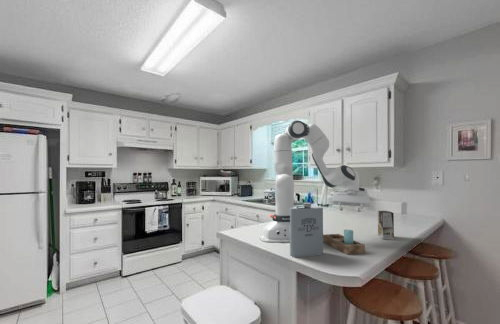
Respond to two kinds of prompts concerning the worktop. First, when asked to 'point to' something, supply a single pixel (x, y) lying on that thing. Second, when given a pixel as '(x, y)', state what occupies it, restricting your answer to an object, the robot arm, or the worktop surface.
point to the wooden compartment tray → (343, 244)
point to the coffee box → (386, 225)
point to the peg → (348, 237)
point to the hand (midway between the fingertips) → (350, 210)
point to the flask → (306, 231)
